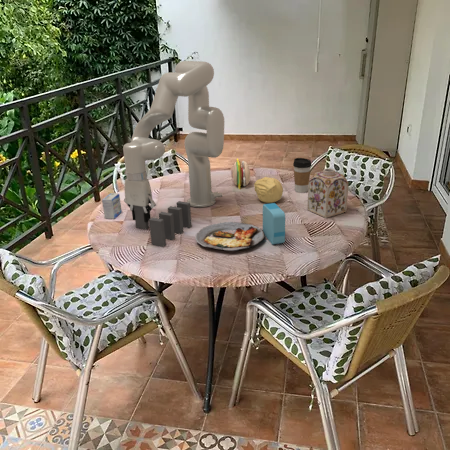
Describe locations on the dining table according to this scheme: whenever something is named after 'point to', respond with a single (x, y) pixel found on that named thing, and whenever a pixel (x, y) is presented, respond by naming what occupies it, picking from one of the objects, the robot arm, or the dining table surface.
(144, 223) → the domino
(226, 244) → the food plate
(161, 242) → the domino
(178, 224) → the domino
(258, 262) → the dining table surface
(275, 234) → the light blue block
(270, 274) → the dining table surface
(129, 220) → the dining table surface
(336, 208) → the decorative jar
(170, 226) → the domino
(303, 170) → the coffee cup
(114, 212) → the medicine box
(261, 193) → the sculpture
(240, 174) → the hamburger
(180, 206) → the domino
